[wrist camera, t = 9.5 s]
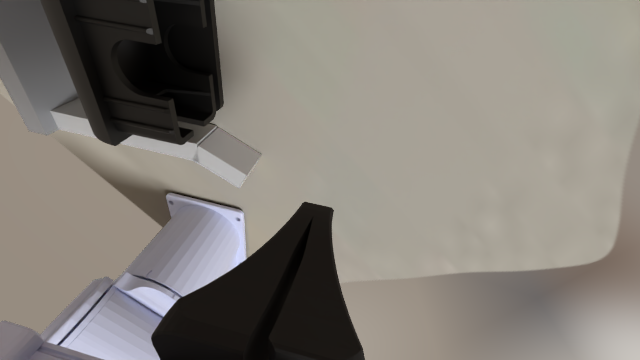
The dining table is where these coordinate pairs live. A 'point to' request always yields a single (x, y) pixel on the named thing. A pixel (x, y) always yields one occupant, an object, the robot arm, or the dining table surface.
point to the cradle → (65, 106)
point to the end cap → (141, 64)
